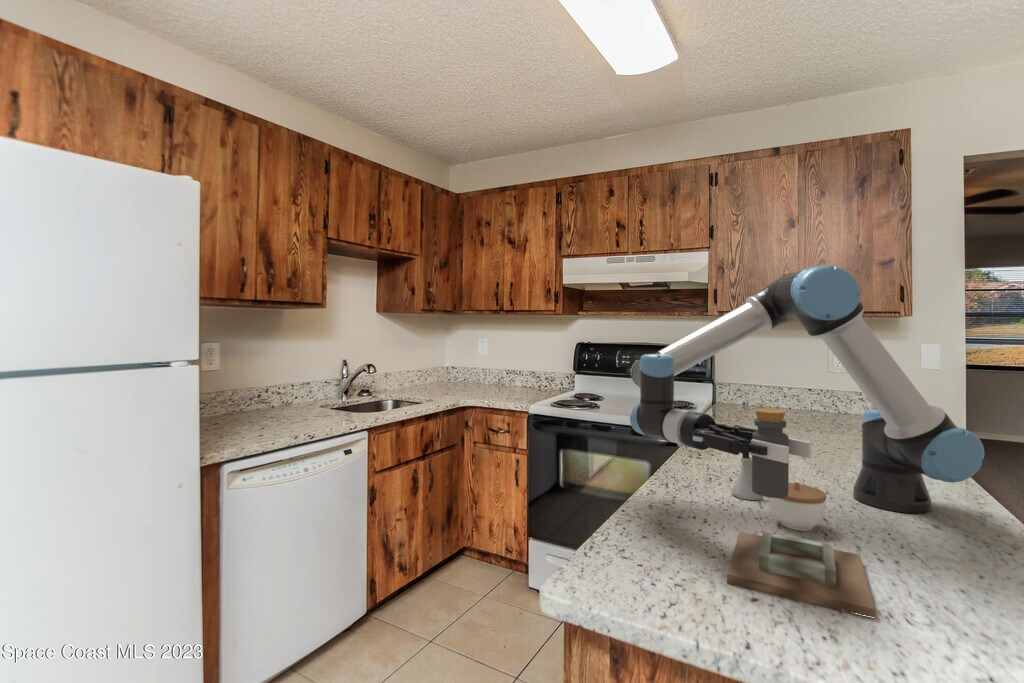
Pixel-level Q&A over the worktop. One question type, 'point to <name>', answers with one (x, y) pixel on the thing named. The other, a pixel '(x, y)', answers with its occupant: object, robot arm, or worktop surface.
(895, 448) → the robot arm
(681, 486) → the worktop surface
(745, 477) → the flask
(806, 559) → the socket board
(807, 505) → the lidded jar
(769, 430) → the bottle
